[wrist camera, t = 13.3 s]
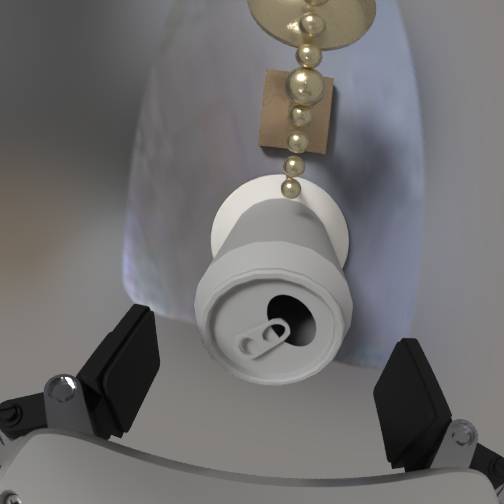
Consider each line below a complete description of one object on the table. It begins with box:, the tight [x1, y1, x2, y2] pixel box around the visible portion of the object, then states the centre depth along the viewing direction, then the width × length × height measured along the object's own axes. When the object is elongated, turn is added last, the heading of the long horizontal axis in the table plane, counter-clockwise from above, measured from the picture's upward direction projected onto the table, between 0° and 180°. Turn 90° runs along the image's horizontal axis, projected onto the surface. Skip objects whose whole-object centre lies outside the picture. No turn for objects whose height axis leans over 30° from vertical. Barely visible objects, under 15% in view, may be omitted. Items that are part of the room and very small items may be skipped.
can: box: [194, 198, 353, 385], centre depth 17 cm, size 8×8×12 cm
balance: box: [247, 0, 376, 199], centre depth 13 cm, size 14×6×14 cm, turn 174°
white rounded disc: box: [211, 174, 349, 268], centre depth 23 cm, size 11×11×1 cm
